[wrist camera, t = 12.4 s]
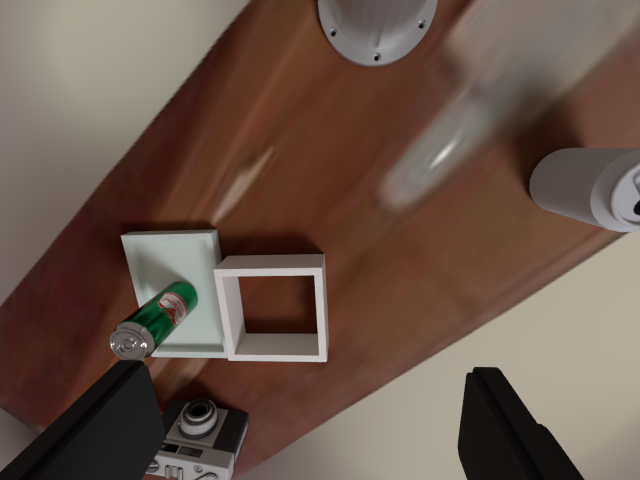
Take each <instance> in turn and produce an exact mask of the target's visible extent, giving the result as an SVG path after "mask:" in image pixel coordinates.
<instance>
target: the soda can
mask: <svg viewBox="0 0 640 480" xmlns="http://www.w3.org/2000/svg"><path fill="white" fill-rule="evenodd" d="M197 304H198V295H197V293H196V291H195V289H194V288H193V287H192V286H190V285H189V284H187V283H184V282H173V283H171V284H170V285H168V286H167V287H166V288H164V289H163V290H162V291H161V292H159V293H158V294H157V295H155V296H154V297H153V298H152V299H150V300H149V301H148V302H146V303H145V304H144V305H143V306H141V307H140V308H139V309H137V310H136V311H135V312H133V313H132V314H131V315H130V316H128V317H127V318H126V319H124V320H123V321H122V322H121V323H119V324H118V325H117V326H116V328H115V329H114V332H113V333H112V335H111V337H110V346H111V349H112V351H113V352H114V353H115V354H116V355H117V356H118V357H119V358H121V359H123V360H141V359H143V358H146V357H148V356H150V355H151V354H152V353H153V352H154V351H155V350H156V349H157V348H158V347H159V346H160V345H161V344H162V343H163V342H164V341H165V339H166V338H167V337H168V336H169V335H170V334H171V333H172V332H173V331H174V330H175V329H176V328H177V327H178V326H179V325H180V324H181V322H182V321H183V320H184V319H185V318H186V317H187V316H188V315H189V314H190V313H191V312H192V311H193V310H194V309H195V308H196V306H197Z"/></svg>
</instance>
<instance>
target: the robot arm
mask: <svg viewBox="0 0 640 480" xmlns="http://www.w3.org/2000/svg"><path fill="white" fill-rule="evenodd" d="M437 1H438V0H318V9H319V17H320V21H321V25H322V28H323V31H324V33H325V36H326V38H327V39H328V41H329V43H330V44H331V46H332V47H333V48H334V49H335V50H336V51H337V53H338V54H339V55H341V56H342V57H343V58H345V59H346V60H348V61H349V62H352V63H354V64H356V65H360V66H365V67H380V66H385V65H389V64H391V63H393V62H396V61H398V60H400V59H401V58H403V57H404V56H405V55H407V54H408V53H410V52H411V51H412V50H413V48H414V47H415V46H416V45H417V44H418V43H419V42H420V40H421V39H422V38H423V36H424V35H425V33H426V32H427V30H428V28H429V26H430V24H431V22H432V19H433V16H434V14H435V10H436V6H437ZM419 25H422V26H423V28H422V29H420V28H419ZM332 33H335V34H336V35H335V36H334V37H332V36H331V34H332ZM375 57H378V61H375V60H374V58H375ZM164 439H165V429H164V425H163V421H162V418H161V414H160V410H159V406H158V402H157V399H156V395H155V391H154V387H153V384H152V380H151V376H150V372H149V369H148V367H147V366H145V365H144V362H142V361H141V360H120V361H118V362H117V363H116V364H114V365H113V366H112V367H111V368H110V369H109V370H108V371H107V372H106V373H105V374H104V375H103V376H102V377H101V378H100V379H99V380H98V381H96V382H95V383H94V384H93V385H92V386H91V387H90V388H89V389H88V390H87V391H86V392H85V393H84V394H83V395H82V396H81V397H79V398H78V399H77V400H76V401H75V402H74V403H73V404H72V405H71V406H70V407H69V408H68V409H67V410H66V411H65V412H64V413H63V414H61V415H60V416H59V417H58V418H57V419H56V420H55V421H54V422H53V423H52V424H51V425H50V426H49V427H48V428H47V429H46V430H45V431H43V432H42V433H41V434H40V435H39V436H38V437H37V438H36V439H35V440H34V441H33V442H32V443H31V444H30V445H29V446H28V447H27V448H25V449H24V451H22V452H21V453H20V454H19V455H18V456H17V457H16V458H15V459H14V460H13V461H12V462H11V463H10V464H8V465H7V466H6V467H5V468H4V469H3V470H2V471H1V472H0V480H141V479H142V478H143V476H144V474H145V473H146V471H147V469H148V468H149V466H150V464H151V463H152V461H153V460H154V458H155V456H156V455H157V453H158V451H159V450H160V448H161V446H162V445H163V442H164ZM458 453H459V458H460V461H461V464H462V466H463V469H464V472H465V475H466V477H467V480H584V478H583V477H582V475H581V474H580V473H579V471H578V470H577V469H576V467H575V466H574V464H573V463H572V461H571V460H570V459H569V457H568V456H567V455H566V453H565V452H564V450H563V449H562V447H561V446H560V445H559V443H558V442H557V441H556V440H555V438H554V436H553V435H552V434H551V433H550V431H549V430H548V429H547V428H546V427H545V426H543V425H542V424H537V422H536V421H535V419H534V418H533V417H532V415H531V414H530V412H529V411H528V410H527V408H526V406H525V405H524V404H523V402H522V401H521V399H520V398H519V396H518V395H517V393H516V392H515V390H514V389H513V388H512V386H511V385H510V383H509V382H508V380H507V379H506V377H505V376H504V375H503V373H502V372H501V370H500V369H498V368H497V367H474V369H473V372H472V373H467V375H466V383H465V391H464V399H463V406H462V415H461V422H460V431H459V439H458Z"/></svg>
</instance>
